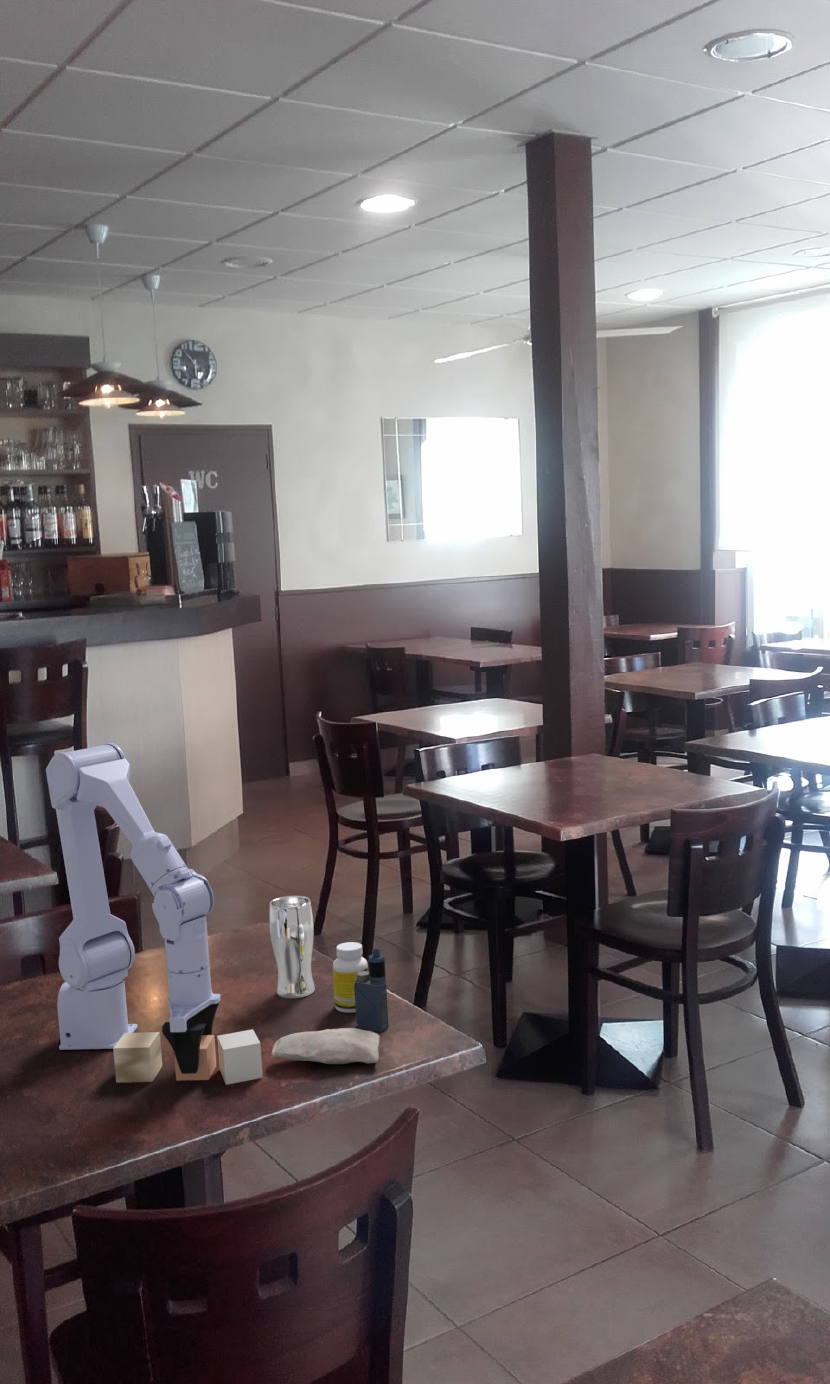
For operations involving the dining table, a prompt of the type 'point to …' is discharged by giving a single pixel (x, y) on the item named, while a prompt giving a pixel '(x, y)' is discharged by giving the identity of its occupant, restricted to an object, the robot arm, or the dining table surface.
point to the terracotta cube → (201, 1061)
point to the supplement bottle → (347, 975)
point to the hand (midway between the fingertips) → (195, 1061)
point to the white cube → (239, 1056)
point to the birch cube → (137, 1057)
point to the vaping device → (372, 995)
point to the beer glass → (292, 945)
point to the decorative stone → (330, 1046)
